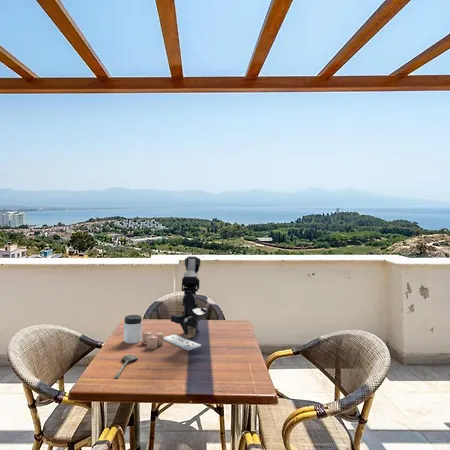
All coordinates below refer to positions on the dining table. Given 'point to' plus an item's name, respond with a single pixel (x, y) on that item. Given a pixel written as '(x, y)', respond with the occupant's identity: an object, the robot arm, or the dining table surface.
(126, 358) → the soupspoon
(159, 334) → the peach rounded capsule
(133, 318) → the jar
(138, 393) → the dining table surface
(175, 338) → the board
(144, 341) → the peach rounded piece
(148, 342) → the peach rounded blob
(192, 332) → the brown cube
